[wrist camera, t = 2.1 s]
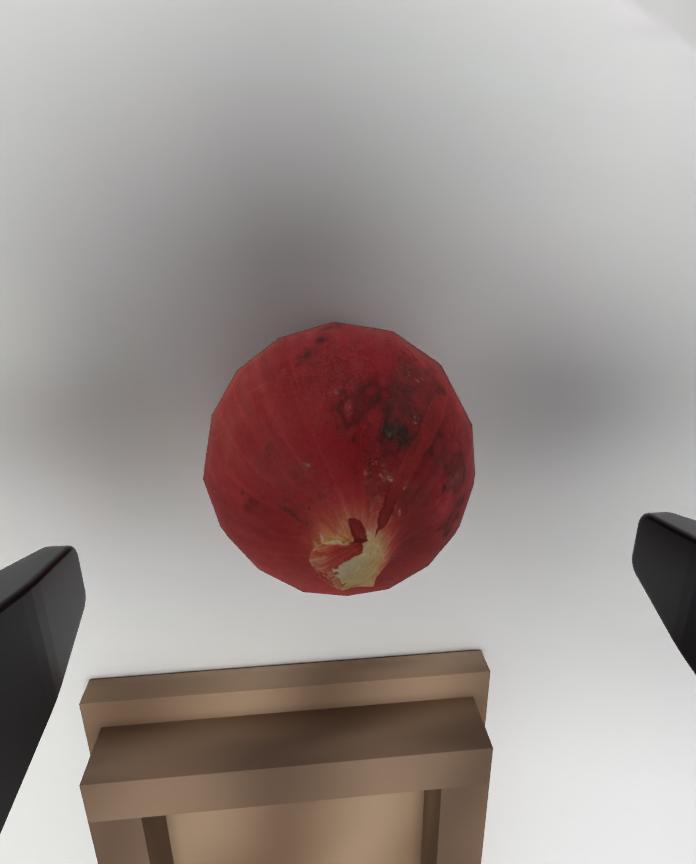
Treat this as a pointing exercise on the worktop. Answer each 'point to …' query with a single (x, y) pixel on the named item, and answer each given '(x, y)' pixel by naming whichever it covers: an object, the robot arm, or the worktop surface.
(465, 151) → the worktop surface
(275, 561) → the onion
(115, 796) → the walnut holder
